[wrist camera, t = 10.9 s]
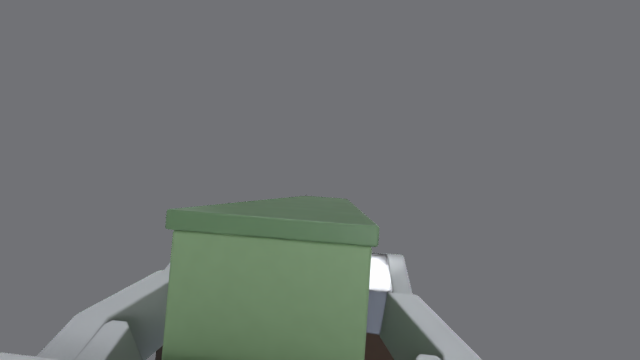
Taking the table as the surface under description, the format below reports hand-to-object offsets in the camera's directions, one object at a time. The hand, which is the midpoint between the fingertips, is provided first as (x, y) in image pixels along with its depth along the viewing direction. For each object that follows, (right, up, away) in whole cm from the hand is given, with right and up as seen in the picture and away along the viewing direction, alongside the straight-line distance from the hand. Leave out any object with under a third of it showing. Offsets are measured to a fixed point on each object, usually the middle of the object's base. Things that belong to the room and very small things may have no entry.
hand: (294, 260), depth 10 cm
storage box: (0, -3, +8) cm, 8 cm away
